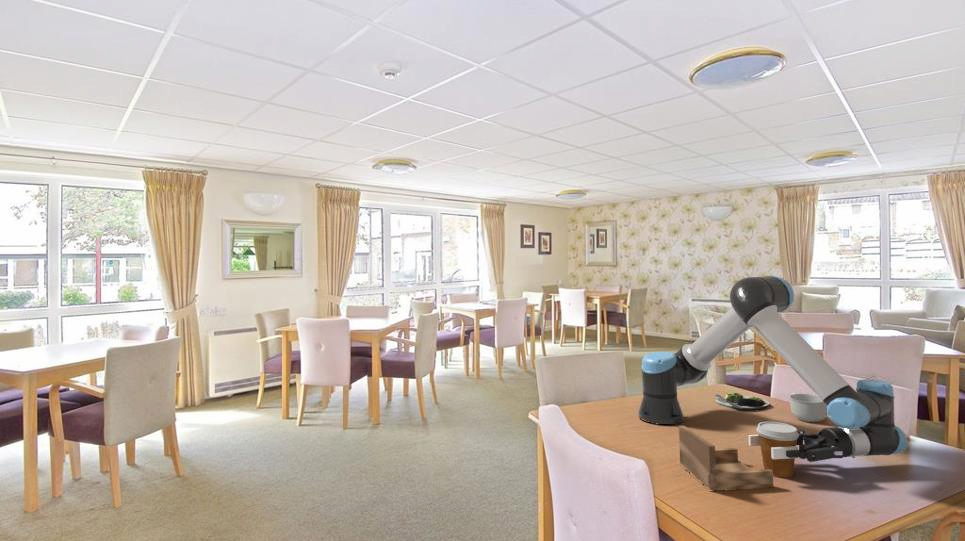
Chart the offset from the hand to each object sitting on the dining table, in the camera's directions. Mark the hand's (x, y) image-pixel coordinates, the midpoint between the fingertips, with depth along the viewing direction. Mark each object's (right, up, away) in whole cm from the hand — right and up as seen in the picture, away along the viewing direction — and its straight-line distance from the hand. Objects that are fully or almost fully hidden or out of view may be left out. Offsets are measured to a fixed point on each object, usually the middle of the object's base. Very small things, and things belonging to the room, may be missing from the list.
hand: (760, 446), depth 121 cm
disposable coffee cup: (+5, -7, 0) cm, 9 cm away
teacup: (+41, -6, +42) cm, 59 cm away
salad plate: (+29, -7, +60) cm, 67 cm away
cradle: (-10, -7, -1) cm, 12 cm away
